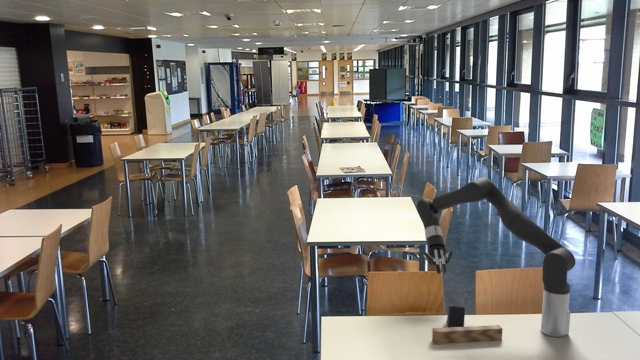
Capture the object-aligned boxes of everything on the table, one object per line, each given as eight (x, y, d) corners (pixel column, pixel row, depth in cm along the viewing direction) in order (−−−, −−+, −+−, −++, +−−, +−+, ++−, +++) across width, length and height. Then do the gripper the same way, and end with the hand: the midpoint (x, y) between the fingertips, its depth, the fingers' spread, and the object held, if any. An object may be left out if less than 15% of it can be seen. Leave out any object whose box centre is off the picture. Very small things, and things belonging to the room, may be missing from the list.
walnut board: (498, 337, 210) (499, 325, 209) (501, 340, 207) (502, 328, 206) (432, 340, 207) (432, 328, 206) (434, 344, 204) (434, 331, 203)
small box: (464, 332, 214) (465, 307, 212) (447, 330, 215) (448, 305, 213) (463, 320, 224) (464, 296, 222) (446, 319, 225) (447, 295, 223)
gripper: (421, 234, 242) (428, 270, 232) (451, 233, 243) (459, 269, 233) (417, 242, 248) (424, 277, 238) (447, 241, 249) (455, 276, 240)
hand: (441, 273), depth 236 cm, fingers closed
